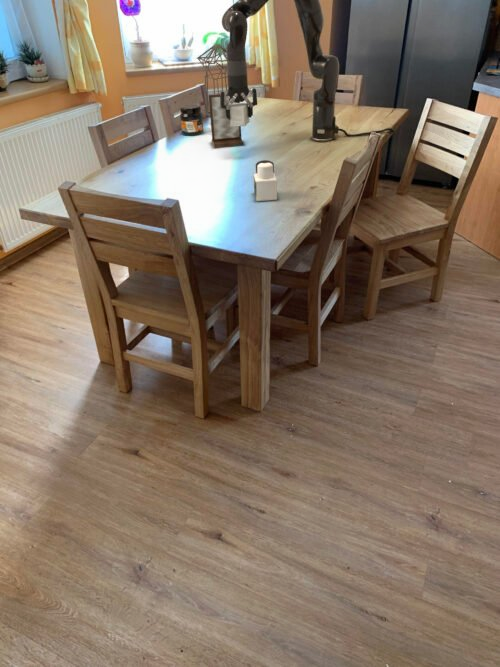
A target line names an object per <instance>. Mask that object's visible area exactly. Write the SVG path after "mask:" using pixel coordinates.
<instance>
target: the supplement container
mask: <svg viewBox="0 0 500 667" xmlns="http://www.w3.org/2000/svg"><path fill="white" fill-rule="evenodd" d="M179 110H180V114H179V118H180V128H181V133H182V134H183V135H184V136H189V137H190V136H199V135H202V134H203V133H204V130H205V128H204V121H203V120H204V118H203V112H202V107H201V105H200V104H198V103H187V104H182V105H181V106H180V108H179Z"/></svg>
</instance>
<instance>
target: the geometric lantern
mask: <svg viewBox="0 0 500 667" xmlns="http://www.w3.org/2000/svg"><path fill="white" fill-rule="evenodd" d="M217 51H218V52H217ZM206 54H207V55H206ZM204 55H205V56H204ZM222 56H224V58H225V59H223V58H222ZM210 59H211V60H210ZM196 60H198V62H200V64H201V65H202V67H203V68H204V69H206V71H205V75H204V90H205V92H204V93H205V112H206V114H205V115H206V116H208V118H210V111H209V79H212V83H213V94H216V89H217V94H220V89H219V80H221V90H222V91H224V83H225V91H228V83H227V79H228V78H227V65H225V66H224V63H223V62H227V52H226V46H223V45H222V44H220V43H215V44H213V45H212V46H211V47H209V48H208V49H207V50H205V51H204V52H202V53H201V54H200V55H198V56H197V57H196ZM219 62H221V64H220V63H219ZM211 65H215V66H216V67H217V68H218V70H220V71H219V72H216V73H212V72H211V70H210V66H211ZM223 69H225V70H224V71H223ZM208 73H209V74H208ZM215 75H217V77H216V78H215V77H214V76H215ZM223 75H224V76H223ZM210 76H211V77H210ZM223 79H224V80H223ZM215 80H216V86H215ZM216 87H217V88H216Z"/></svg>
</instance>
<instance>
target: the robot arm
mask: <svg viewBox="0 0 500 667" xmlns="http://www.w3.org/2000/svg"><path fill="white" fill-rule="evenodd" d="M269 1H270V0H237V1H236V2H234V3H233V4H232V5H231V6H230V7H228V8H227V9H226V11H224V13H223V15H222V17H221V27H222V28H223V30H224V31H226V32H228V33H229V41H228V42H227V43H226V45H225V48H226V52H227V54H226V55H227V56H226V57H227V61H226V66H227V67H226V68H227V70H226V73H227V74H226V77H227V78H226V79H227V91H226V90H223V91H222V89H221V90H219V94H220V106H221V108H224V109H225V110H226V117H227V118H228V120H230V110H229V108H230V106H231V105H232V104H233V102H240V103H244V102H245V103H247V104H248V111H249V119H250V118H252V116H254V107H255V106H258V94H257V89H256V87H252V88H249V85H248V84H249V82H248V64H247V54H246V43H247V38H248V37H247V36H248V29H249V28H248V27H249V26H248V20H247V19H248V18H250V17H252V16H255V15H257V14H258V13H259V12H260V10H262V8H263V7H264V6H266V5H267V3H268V2H269ZM293 3H294V6H295V10H296V15H297V18H298V22H299V26H300V30H301V32H302V36H303V40H304V44H305V49H306V54H307V61H308V68H309V71H310V74H311V76H312V77H313V78H314V79H317V80H321V86H320V87H318V88H315V89H314V90H313V94H312V96H313V97H312V99H313V100H312V132H311V140H313V141H315V142H329V141H332V140H335V138H336V137H335V136H336V135H337V134H339V132H342V133H343V134H344V135H345V137H360V136H367V135H371V134H370V133H371V132H376V133H375V134H380V133H384V132H388V131H390V132H392V133H395V130H394V129H393V128H391V127H387V128H384V129H381V130H373V131H368V132H367V131H366V132H359V133H354V134H350V133H348V132H347V130H345V129H343V128H340V127H339V126H338V124H336V115H335V110H336V109H335V108H336V107H335V106H336V93H337V90H338V84H339V75H340V61H339V59H338V57H337V56H335V55H331V54H324V52H323V49H322V44H321V36H322V33H323V28H324V22H325V18H324V14H323V9H322V4H321V1H320V0H293ZM227 94H228V95H229V97H230V98H229V100H228V102H227V104H226V105H224V97H226V95H227ZM249 94H250V95H251V96H252V101H250V99H249V98H248V95H249ZM230 99H231V100H230Z"/></svg>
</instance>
